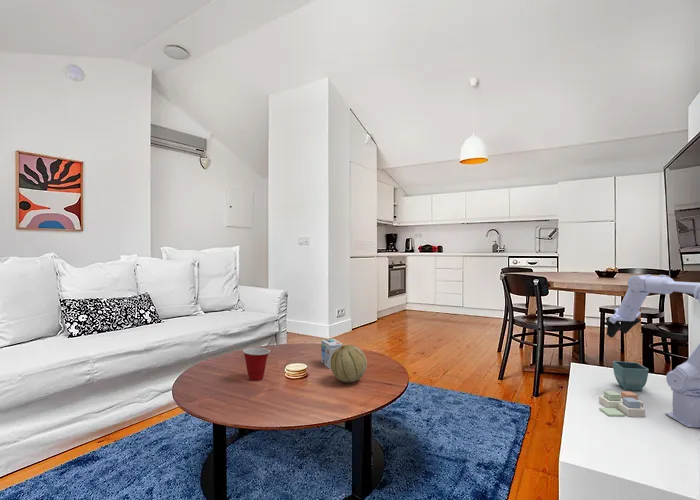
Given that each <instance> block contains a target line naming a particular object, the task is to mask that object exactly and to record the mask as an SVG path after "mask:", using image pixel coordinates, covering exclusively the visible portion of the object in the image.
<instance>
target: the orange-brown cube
mask: <svg viewBox="0 0 700 500" xmlns="http://www.w3.org/2000/svg"><path fill="white" fill-rule="evenodd" d="M620 395H621V398H622V399H623V398H634V399H636V400H639V395H638V394H636V393H635V392H633V391H631V390H626V391H623V390H622V391H620Z"/></svg>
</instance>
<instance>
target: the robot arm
mask: <svg viewBox="0 0 700 500" xmlns="http://www.w3.org/2000/svg"><path fill="white" fill-rule="evenodd" d="M627 286H628V288H627V291H626V292H625V295H624V297H623V299H622V301H621V303H620V305H619V307H616V308H614V309H613V310H614V311H613V312H614V314H613V315H610V316H607V317H606V319H605V321H606V325H607V326H606V327H607V328H606V336H608V337H609V338H613V337H615V336H616V334H617V332H618V331H620V332H622V333H623V334H624V335H626V334H627V333H629V331H630V330H631V329H632V328H634V327H635V325H637V324H639V323H641V319H640V318H639V317H640V316H641V314H642V312H641V311H640V310H641V308H642V306H643V303H644V301H645V300H646V298H647V296H649V294H650V293H652V294H660V295H671V294H672V293H673V292H678V293H685V294H692V295H693V298H694V299H695V300H698V303H699V304H700V282H695V281H694V282H692V281H691V282H690V281H674V279H673V278H671V277H670V276H667V275H666V274H659V275H658V276H656V275H652V274H650V273H649V274H642V275H639V274H638V275H636V274H635V275H631V276H630V277H629V278H627ZM621 322H622V323H621ZM665 379H666V383H667V385H668V386H669V388H670V391H672V412H664V413H665V415H666V416H668V417H670V418H671V419H673V420H675V421H677V422H678V423H680V424H682V425H684V426H685V427H687V428H697V429H698V428H700V343H698V345H697V346H696V347H695V349H694V351H693V352H692V353H691V354H690V356H689V357H688V358H687V360H685V361H684V362H683V363H681V364H679V365H677V366H676V367H675V368H674V369H673V370H670V371H668V372H667V374H666V377H665Z"/></svg>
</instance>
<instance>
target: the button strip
mask: <svg viewBox="0 0 700 500" xmlns="http://www.w3.org/2000/svg"><path fill="white" fill-rule="evenodd" d="M638 401H640V407H642V408H644V402H643V401H642V400H640V399H638ZM598 403H599V404H601V405H602V406H604V408H615V409H617V410H618V403H623V399H622V398H621V401H609V400H607V399H606V398H604V395H598Z"/></svg>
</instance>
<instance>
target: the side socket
mask: <svg viewBox="0 0 700 500" xmlns="http://www.w3.org/2000/svg"><path fill="white" fill-rule="evenodd" d="M617 410H618V411H620V412H621V413H623V414H624V415H625V416H626V417H629V418H630V417H633V418H646V409H645V408H644V407H643V408H642V407H640V409H636V408H628V407H626V406H625V405H623V403H618V409H617Z"/></svg>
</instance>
